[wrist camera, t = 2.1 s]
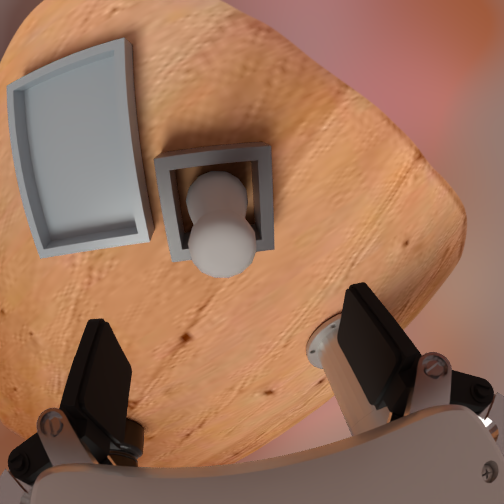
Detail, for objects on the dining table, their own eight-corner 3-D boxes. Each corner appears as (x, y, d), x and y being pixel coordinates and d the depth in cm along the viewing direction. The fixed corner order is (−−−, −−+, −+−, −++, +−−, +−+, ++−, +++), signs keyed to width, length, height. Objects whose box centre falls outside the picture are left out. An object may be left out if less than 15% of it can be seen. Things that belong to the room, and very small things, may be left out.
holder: (262, 141, 26) (271, 145, 23) (266, 232, 31) (274, 249, 27) (160, 153, 25) (153, 158, 21) (175, 244, 30) (172, 262, 26)
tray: (132, 44, 19) (124, 37, 16) (154, 229, 28) (149, 241, 26) (21, 86, 17) (6, 85, 15) (51, 246, 27) (40, 258, 24)
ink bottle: (117, 433, 49) (113, 476, 38) (96, 416, 44) (89, 462, 34) (152, 433, 49) (151, 478, 39) (133, 415, 45) (129, 466, 34)
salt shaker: (246, 168, 27) (278, 210, 16) (242, 221, 30) (266, 293, 18) (188, 165, 26) (174, 206, 15) (186, 219, 29) (177, 293, 17)
